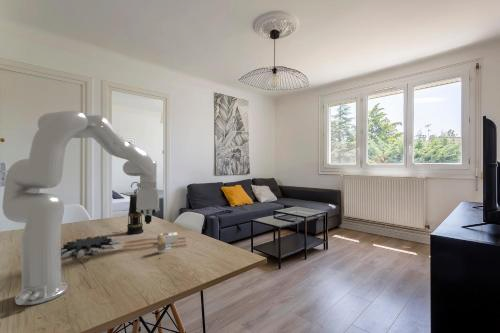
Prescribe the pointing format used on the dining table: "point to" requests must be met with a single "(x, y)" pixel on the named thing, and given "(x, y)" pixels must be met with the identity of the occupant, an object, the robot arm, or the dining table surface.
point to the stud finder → (170, 237)
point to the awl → (161, 243)
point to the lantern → (134, 216)
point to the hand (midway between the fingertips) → (148, 223)
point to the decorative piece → (86, 246)
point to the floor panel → (150, 245)
